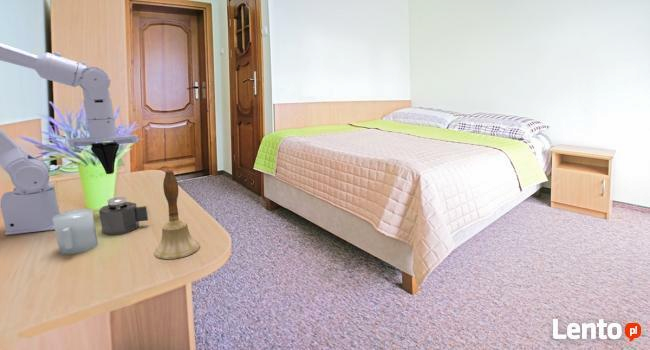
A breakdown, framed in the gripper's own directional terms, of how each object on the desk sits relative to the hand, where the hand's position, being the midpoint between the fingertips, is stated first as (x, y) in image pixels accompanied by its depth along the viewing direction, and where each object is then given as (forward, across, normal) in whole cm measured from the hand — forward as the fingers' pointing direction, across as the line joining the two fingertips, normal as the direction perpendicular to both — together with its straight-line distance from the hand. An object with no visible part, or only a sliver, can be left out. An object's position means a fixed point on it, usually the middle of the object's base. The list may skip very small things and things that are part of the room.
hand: (110, 173), depth 88 cm
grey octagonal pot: (+10, +5, -13) cm, 17 cm away
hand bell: (+11, +17, -29) cm, 35 cm away
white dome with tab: (+10, -2, -21) cm, 24 cm away
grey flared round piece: (+10, +4, -13) cm, 17 cm away
